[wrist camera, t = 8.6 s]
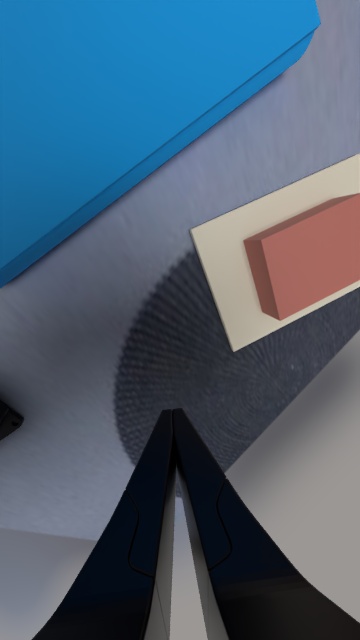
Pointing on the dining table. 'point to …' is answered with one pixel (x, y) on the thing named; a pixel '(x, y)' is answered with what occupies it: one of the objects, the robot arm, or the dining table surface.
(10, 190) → the book
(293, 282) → the card box
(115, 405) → the dining table surface
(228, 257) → the mat
